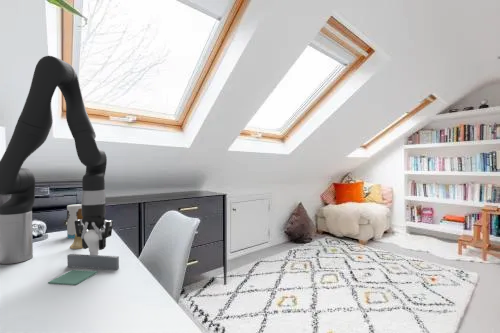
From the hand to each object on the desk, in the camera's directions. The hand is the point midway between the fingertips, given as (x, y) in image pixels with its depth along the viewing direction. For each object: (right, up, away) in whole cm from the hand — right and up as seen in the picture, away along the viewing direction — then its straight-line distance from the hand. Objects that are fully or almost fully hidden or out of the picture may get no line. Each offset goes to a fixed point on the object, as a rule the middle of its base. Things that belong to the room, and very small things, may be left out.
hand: (94, 248), depth 98 cm
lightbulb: (0, -4, 0) cm, 4 cm away
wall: (+4, -4, -8) cm, 10 cm away
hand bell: (-15, -4, +16) cm, 22 cm away
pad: (+3, -4, -16) cm, 16 cm away
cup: (-27, -4, +31) cm, 41 cm away
